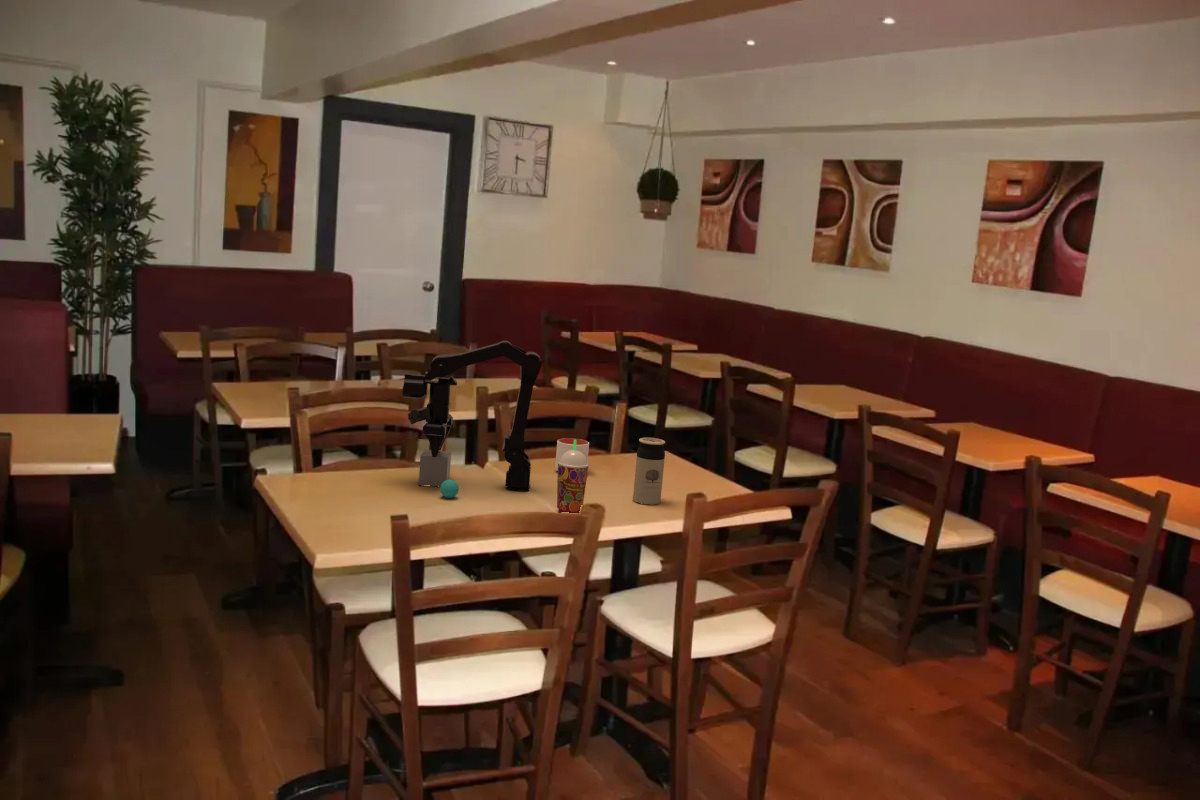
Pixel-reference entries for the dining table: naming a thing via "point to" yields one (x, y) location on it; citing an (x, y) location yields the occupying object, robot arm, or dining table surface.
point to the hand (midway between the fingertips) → (436, 453)
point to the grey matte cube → (434, 468)
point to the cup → (570, 447)
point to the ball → (449, 488)
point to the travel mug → (649, 471)
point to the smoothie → (571, 480)
